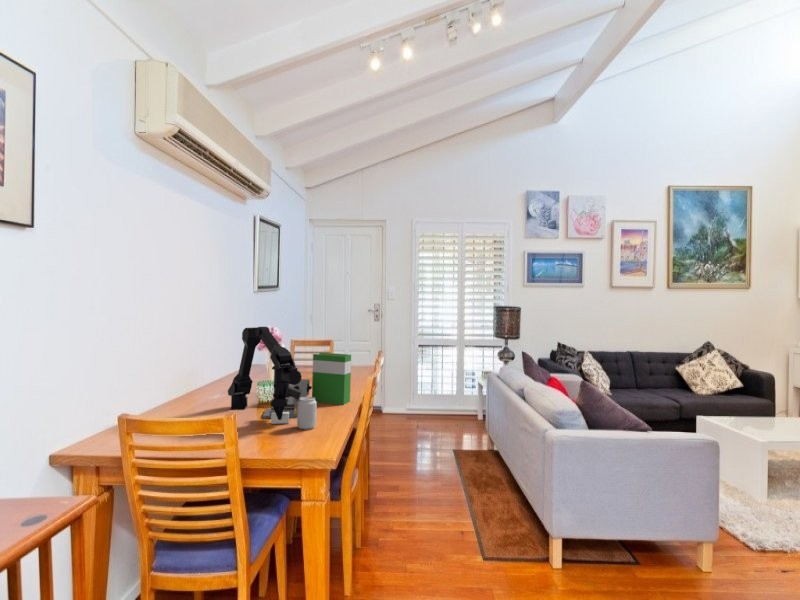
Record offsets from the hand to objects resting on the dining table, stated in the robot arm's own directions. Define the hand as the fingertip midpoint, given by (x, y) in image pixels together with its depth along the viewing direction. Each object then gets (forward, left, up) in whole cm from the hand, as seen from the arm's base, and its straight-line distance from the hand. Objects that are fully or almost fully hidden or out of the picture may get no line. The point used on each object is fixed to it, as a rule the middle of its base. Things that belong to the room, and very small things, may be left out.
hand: (280, 418), depth 187 cm
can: (+11, -8, -2) cm, 13 cm away
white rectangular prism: (0, 0, -2) cm, 2 cm away
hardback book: (+22, +37, -2) cm, 44 cm away
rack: (0, +14, -2) cm, 15 cm away
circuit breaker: (+5, +35, -2) cm, 36 cm away
